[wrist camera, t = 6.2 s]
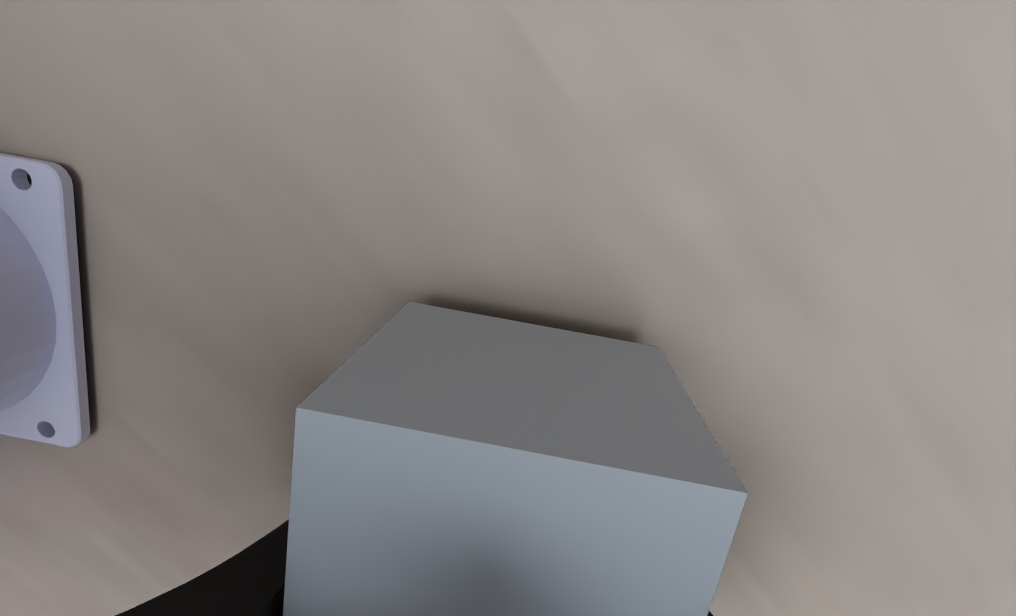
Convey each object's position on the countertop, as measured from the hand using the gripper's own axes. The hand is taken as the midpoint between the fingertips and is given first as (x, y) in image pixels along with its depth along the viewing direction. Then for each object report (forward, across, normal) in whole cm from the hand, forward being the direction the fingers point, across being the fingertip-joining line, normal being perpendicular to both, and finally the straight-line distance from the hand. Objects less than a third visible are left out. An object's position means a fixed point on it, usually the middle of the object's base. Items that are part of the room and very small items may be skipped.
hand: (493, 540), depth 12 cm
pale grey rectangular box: (+1, 0, 0) cm, 1 cm away
